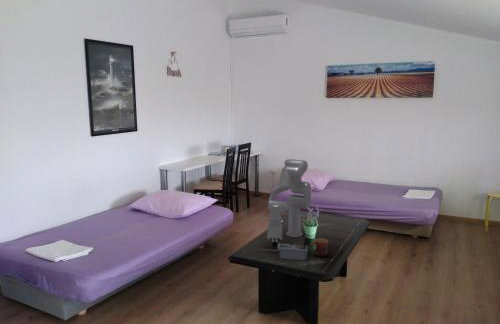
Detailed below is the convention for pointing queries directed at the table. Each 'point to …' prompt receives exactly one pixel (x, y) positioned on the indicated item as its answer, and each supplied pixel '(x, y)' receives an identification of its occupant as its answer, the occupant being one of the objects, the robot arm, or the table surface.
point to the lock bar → (285, 245)
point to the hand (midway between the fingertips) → (274, 247)
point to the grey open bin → (293, 253)
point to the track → (268, 250)
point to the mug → (320, 247)
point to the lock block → (293, 246)
